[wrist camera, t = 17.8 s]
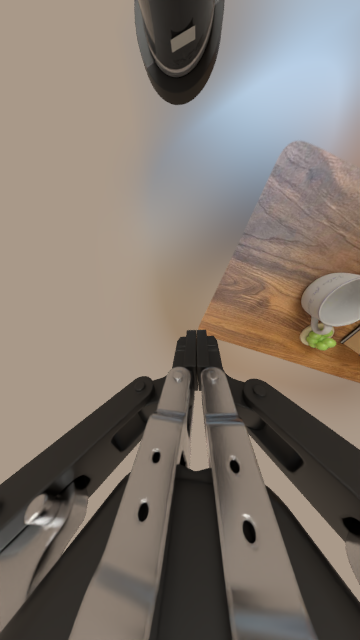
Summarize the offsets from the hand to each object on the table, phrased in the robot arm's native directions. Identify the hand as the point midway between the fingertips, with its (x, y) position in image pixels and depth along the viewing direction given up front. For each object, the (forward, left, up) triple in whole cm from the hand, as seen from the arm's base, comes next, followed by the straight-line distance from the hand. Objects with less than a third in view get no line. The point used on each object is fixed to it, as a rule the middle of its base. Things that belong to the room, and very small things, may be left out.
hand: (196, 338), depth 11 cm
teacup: (+17, +26, -27) cm, 41 cm away
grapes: (+29, +27, -27) cm, 48 cm away
